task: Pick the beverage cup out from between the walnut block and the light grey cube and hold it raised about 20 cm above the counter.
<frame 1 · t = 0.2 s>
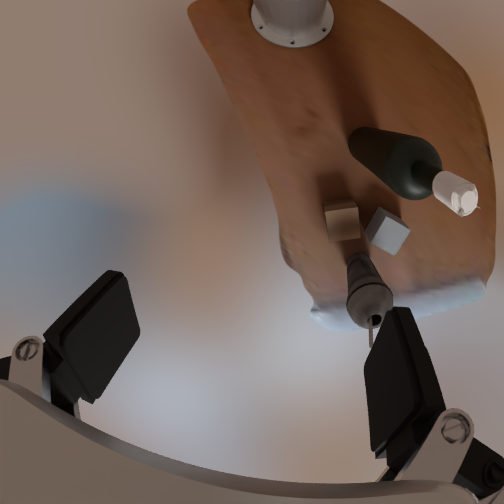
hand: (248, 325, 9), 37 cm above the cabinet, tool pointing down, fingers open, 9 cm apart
light grey cube: (383, 224, 44), on the cabinet
beverage cup: (358, 263, 48), on the cabinet
walnut block: (339, 213, 44), on the cabinet
wine bottle: (365, 144, 38), on the cabinet
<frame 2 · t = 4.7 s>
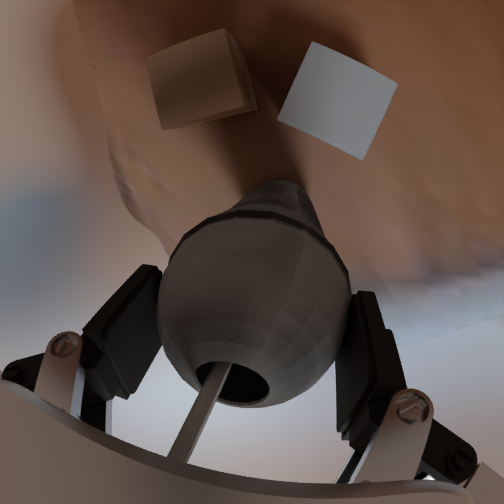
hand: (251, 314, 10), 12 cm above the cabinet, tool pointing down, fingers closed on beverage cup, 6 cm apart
light grey cube: (330, 104, 17), on the cabinet
beverage cup: (280, 207, 21), on the cabinet, touching gripper
walnut block: (217, 86, 17), on the cabinet
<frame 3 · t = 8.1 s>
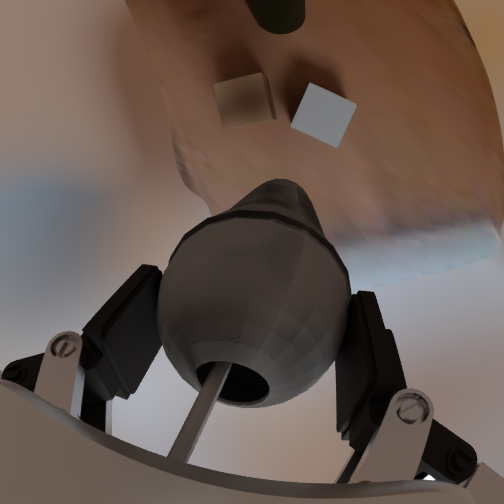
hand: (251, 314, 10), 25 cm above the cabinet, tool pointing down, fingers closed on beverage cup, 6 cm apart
light grey cube: (320, 116, 28), on the cabinet
beverage cup: (280, 207, 21), point 12 cm above the cabinet, touching gripper
walnut block: (251, 103, 29), on the cabinet
wine bottle: (280, 15, 23), on the cabinet
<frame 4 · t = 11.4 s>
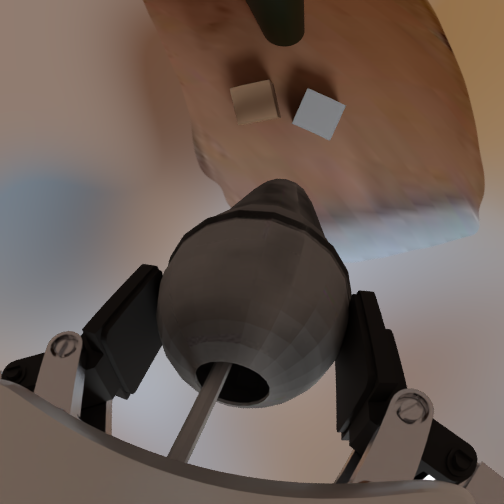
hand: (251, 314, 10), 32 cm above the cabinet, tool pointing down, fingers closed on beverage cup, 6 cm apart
light grey cube: (317, 115, 34), on the cabinet
beverage cup: (280, 207, 21), point 20 cm above the cabinet, touching gripper
walnut block: (259, 104, 35), on the cabinet
wine bottle: (283, 30, 29), on the cabinet
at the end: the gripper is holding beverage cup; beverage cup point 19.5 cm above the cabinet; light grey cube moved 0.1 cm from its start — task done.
